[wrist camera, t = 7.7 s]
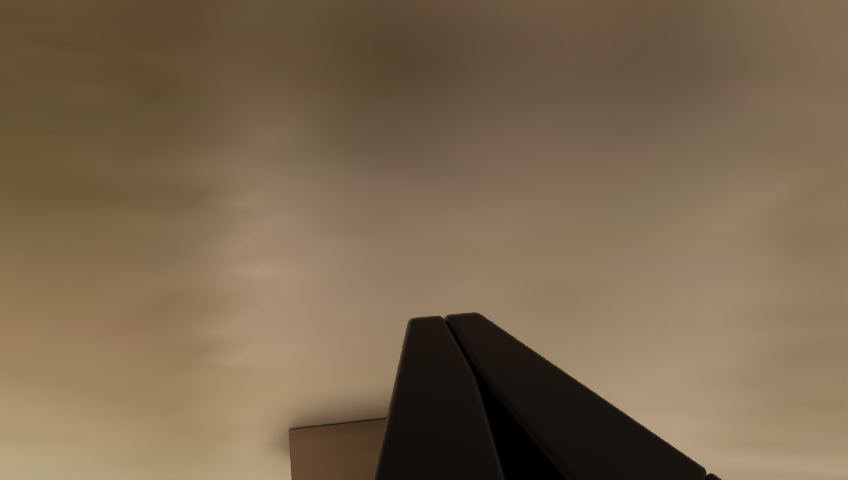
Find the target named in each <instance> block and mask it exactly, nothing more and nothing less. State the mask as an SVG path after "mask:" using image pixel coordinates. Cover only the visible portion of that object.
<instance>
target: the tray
mask: <svg viewBox="0 0 848 480" xmlns="http://www.w3.org/2000/svg"><path fill="white" fill-rule="evenodd" d="M385 424H386V419H380V420H371V421H362V422H354V423H345V424H337V425H328V426H319V427H311V428H302V429H293V430H289V442H290V459H291V477H292V480H373V478H374V474H375V469H376V465H377V460H378V456H379V451H380V446H381V442H382V437H383V433H384V428H385Z"/></svg>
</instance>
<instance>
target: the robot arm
mask: <svg viewBox="0 0 848 480" xmlns="http://www.w3.org/2000/svg"><path fill="white" fill-rule="evenodd" d="M373 480H722V479H720V478H719V477H717V476H716V475H714V474H712V473H710V474H708V475H707V476H706V470H705V468H704V467H702V466H701V465H699V464H698V463H696V462H695V461H693V460H692V459H691V458H689V457H688V456H686V455H685V454H683V453H682V452H680V451H679V450H677V449H676V448H675V447H673V446H672V445H670V444H669V443H667V442H666V441H664V440H663V439H661V438H660V437H659V436H657V435H656V434H654V433H653V432H651V431H650V430H648V429H647V428H645V427H644V426H643V425H641V424H640V423H638V422H637V421H635V420H634V419H632V418H631V417H629V416H628V415H627V414H625V413H624V412H622V411H621V410H619V409H618V408H616V407H615V406H613V405H612V404H611V403H609V402H608V401H606V400H605V399H603V398H602V397H600V396H599V395H597V394H596V393H595V392H593V391H592V390H590V389H589V388H587V387H586V386H584V385H583V384H581V383H580V382H579V381H577V380H576V379H574V378H573V377H571V376H570V375H568V374H567V373H565V372H564V371H563V370H561V369H560V368H558V367H557V366H555V365H554V364H552V363H551V362H549V361H548V360H547V359H545V358H544V357H542V356H541V355H539V354H538V353H536V352H535V351H533V350H532V349H531V348H529V347H528V346H526V345H525V344H523V343H522V342H520V341H519V340H517V339H516V338H515V337H513V336H512V335H510V334H509V333H507V332H506V331H504V330H503V329H501V328H500V327H499V326H497V325H496V324H494V323H493V322H491V321H490V320H488V319H487V318H485V317H484V316H483V315H481V314H479V313H476V312H472V313H462V314H451V315H447V316H446V317H445V318H443V317H441V316H429V317H418V318H412V319H410V320H409V321H408V324H407V328H406V333H405V338H404V342H403V347H402V351H401V356H400V360H399V365H398V369H397V374H396V378H395V383H394V387H393V392H392V397H391V401H390V406H389V410H388V415H387V419H386V424H385V428H384V433H383V437H382V442H381V446H380V451H379V456H378V460H377V465H376V469H375V474H374V478H373Z"/></svg>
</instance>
